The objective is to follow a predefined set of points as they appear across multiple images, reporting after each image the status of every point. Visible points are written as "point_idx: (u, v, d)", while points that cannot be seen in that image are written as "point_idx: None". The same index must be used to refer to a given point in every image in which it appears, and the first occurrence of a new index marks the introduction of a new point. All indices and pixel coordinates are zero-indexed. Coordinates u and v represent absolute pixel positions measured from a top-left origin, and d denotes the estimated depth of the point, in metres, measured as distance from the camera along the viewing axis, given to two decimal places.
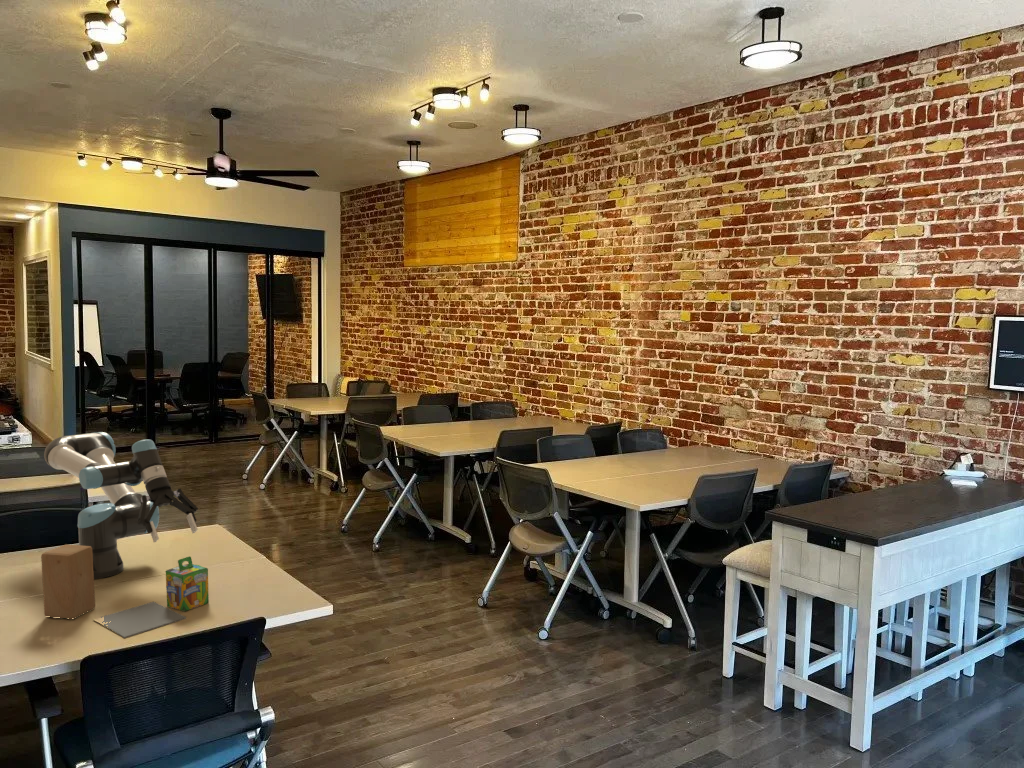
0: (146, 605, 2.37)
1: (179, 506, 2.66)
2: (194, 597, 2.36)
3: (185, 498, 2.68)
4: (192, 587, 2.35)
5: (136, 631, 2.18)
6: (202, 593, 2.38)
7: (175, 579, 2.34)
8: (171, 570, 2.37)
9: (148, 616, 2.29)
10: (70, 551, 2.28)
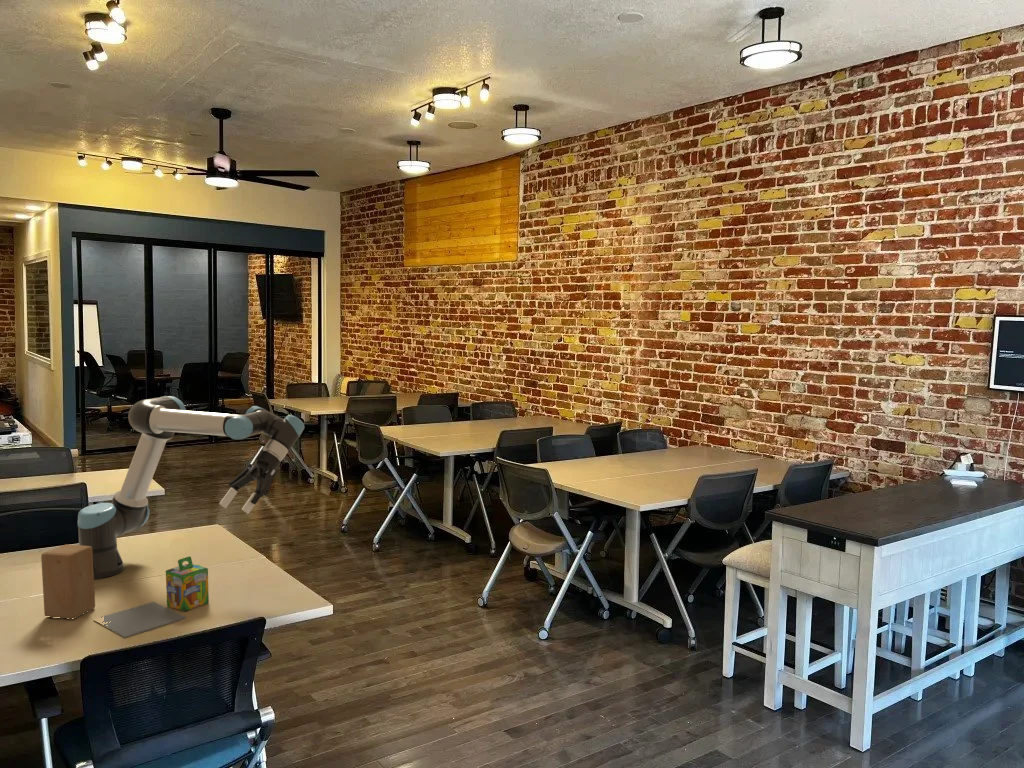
0: (146, 605, 2.37)
1: (245, 482, 2.58)
2: (194, 597, 2.36)
3: None
4: (192, 587, 2.35)
5: (136, 631, 2.18)
6: (202, 593, 2.38)
7: (175, 579, 2.34)
8: (171, 570, 2.37)
9: (148, 616, 2.29)
10: (70, 551, 2.28)
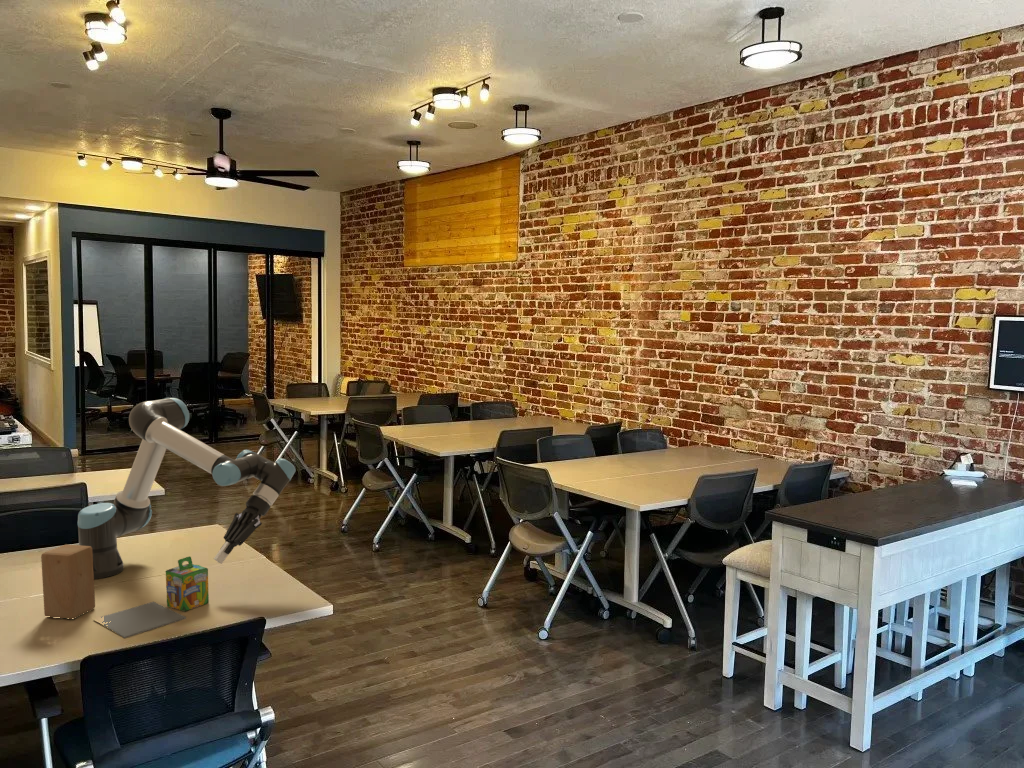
0: (146, 605, 2.37)
1: None
2: (194, 597, 2.36)
3: None
4: (192, 587, 2.35)
5: (136, 631, 2.18)
6: (202, 593, 2.38)
7: (175, 579, 2.34)
8: (171, 570, 2.37)
9: (148, 616, 2.29)
10: (70, 551, 2.28)
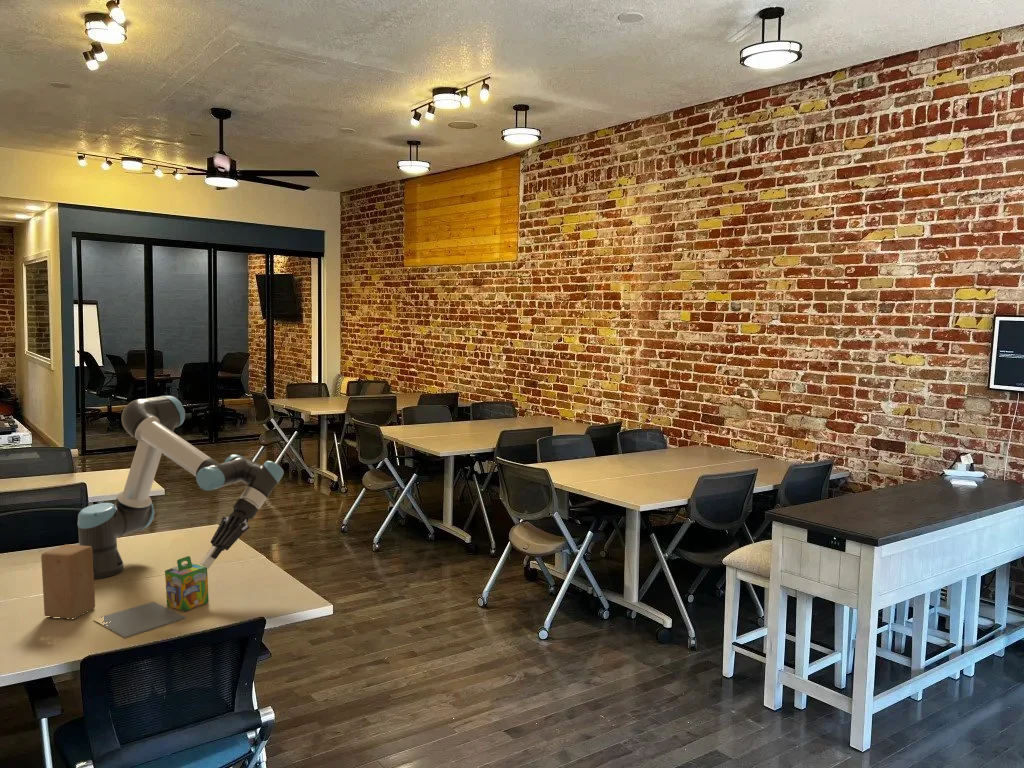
0: (146, 605, 2.37)
1: None
2: (193, 596, 2.35)
3: None
4: (191, 586, 2.35)
5: (136, 631, 2.18)
6: (202, 593, 2.38)
7: (174, 580, 2.34)
8: (170, 570, 2.36)
9: (148, 616, 2.29)
10: (70, 551, 2.28)
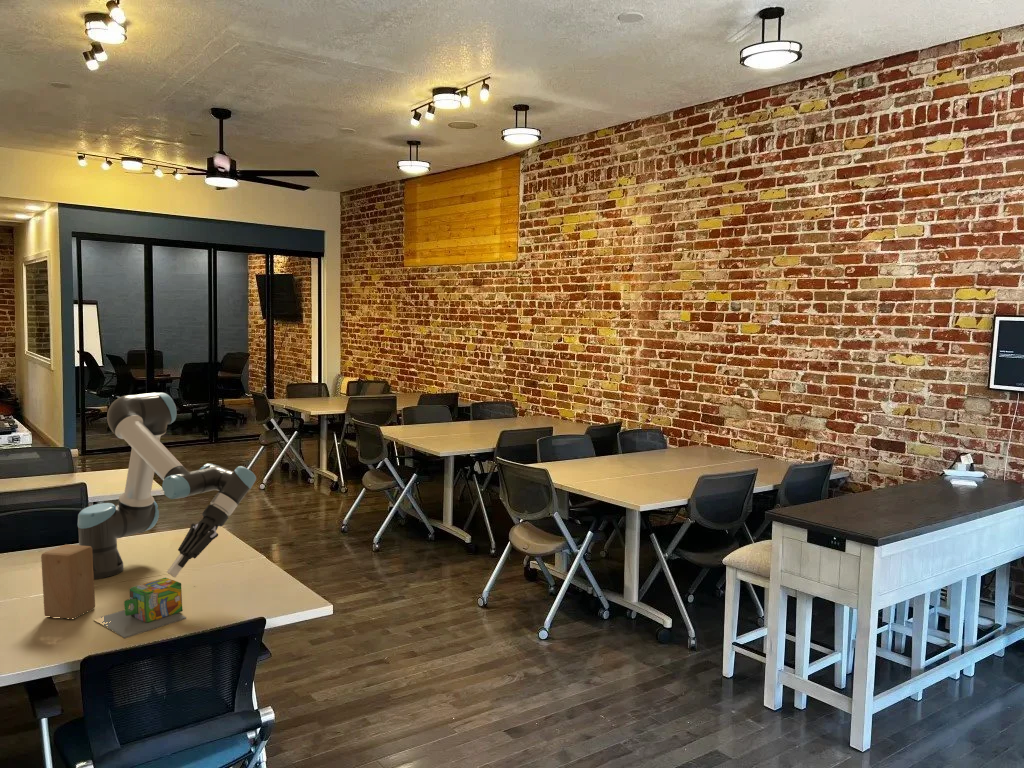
0: None
1: None
2: (171, 603, 2.29)
3: None
4: (160, 608, 2.27)
5: (136, 631, 2.18)
6: (170, 593, 2.29)
7: None
8: (133, 614, 2.27)
9: None
10: (70, 551, 2.28)
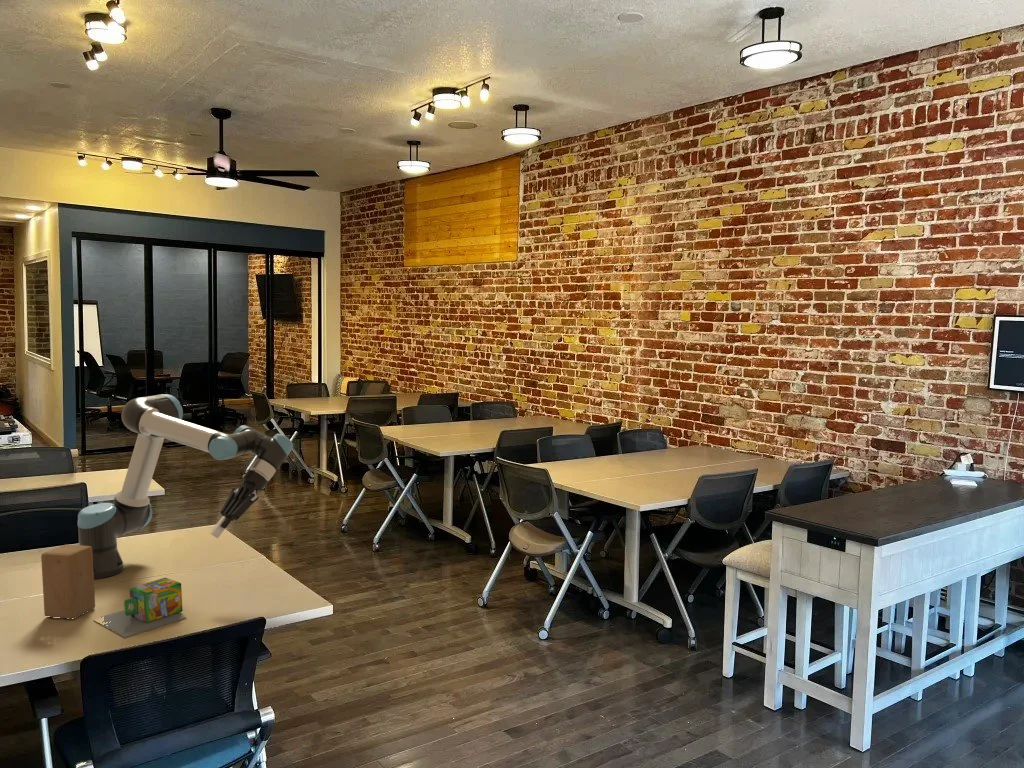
0: None
1: None
2: (171, 603, 2.29)
3: None
4: (160, 608, 2.27)
5: (136, 631, 2.18)
6: (170, 593, 2.29)
7: None
8: (133, 614, 2.27)
9: None
10: (70, 551, 2.28)
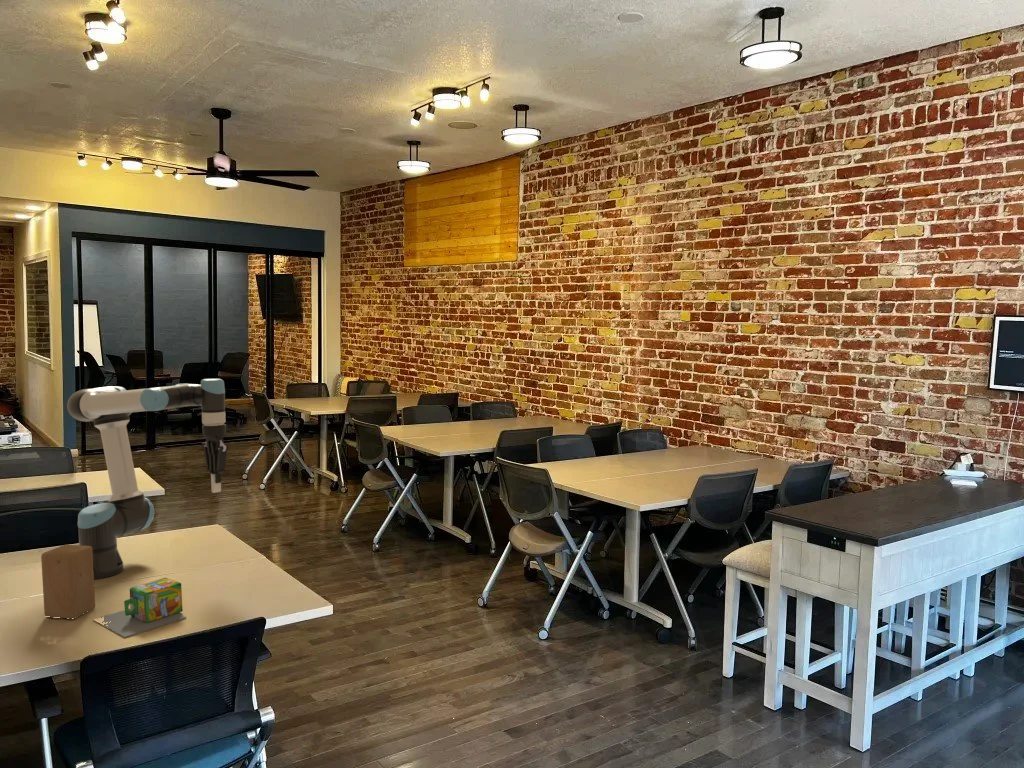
0: None
1: None
2: (171, 603, 2.29)
3: None
4: (160, 608, 2.27)
5: (136, 631, 2.18)
6: (170, 593, 2.29)
7: None
8: (133, 614, 2.27)
9: None
10: (70, 551, 2.28)
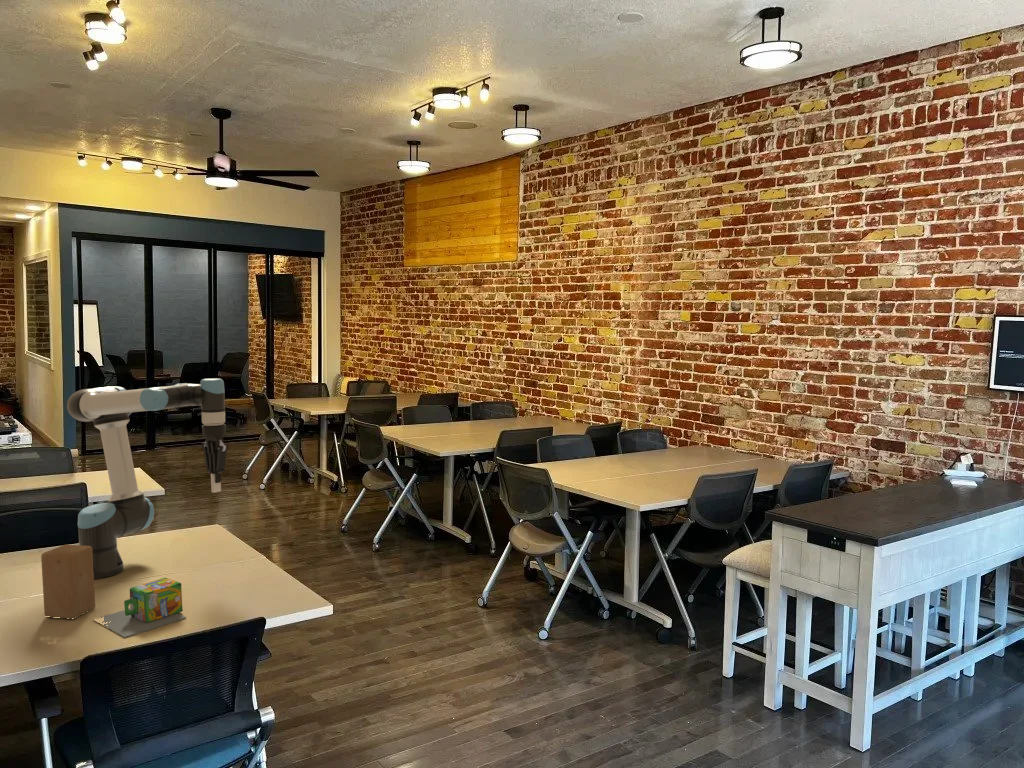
0: None
1: None
2: (171, 603, 2.29)
3: None
4: (160, 608, 2.27)
5: (136, 631, 2.18)
6: (170, 593, 2.29)
7: None
8: (133, 614, 2.27)
9: None
10: (70, 551, 2.28)
